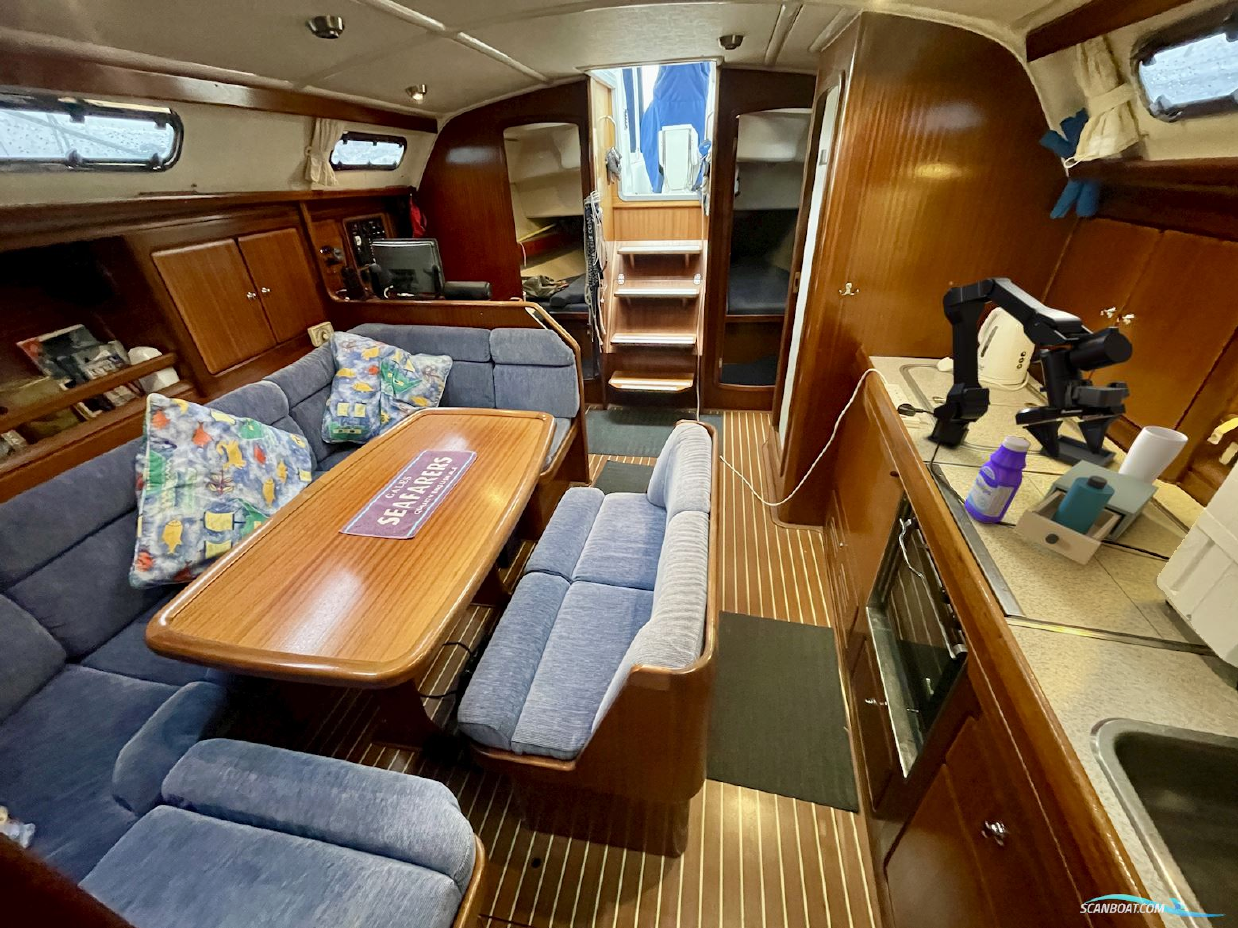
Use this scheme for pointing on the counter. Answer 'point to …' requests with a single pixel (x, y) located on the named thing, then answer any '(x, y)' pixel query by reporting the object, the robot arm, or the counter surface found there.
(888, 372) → the counter surface
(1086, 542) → the drawer
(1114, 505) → the cabinet
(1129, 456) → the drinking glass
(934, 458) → the counter surface
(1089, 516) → the soap bottle
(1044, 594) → the counter surface
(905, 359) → the counter surface
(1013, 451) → the bottle
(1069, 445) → the tray
